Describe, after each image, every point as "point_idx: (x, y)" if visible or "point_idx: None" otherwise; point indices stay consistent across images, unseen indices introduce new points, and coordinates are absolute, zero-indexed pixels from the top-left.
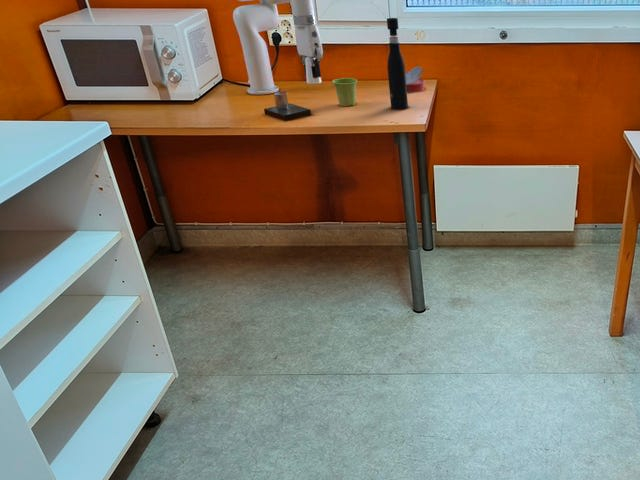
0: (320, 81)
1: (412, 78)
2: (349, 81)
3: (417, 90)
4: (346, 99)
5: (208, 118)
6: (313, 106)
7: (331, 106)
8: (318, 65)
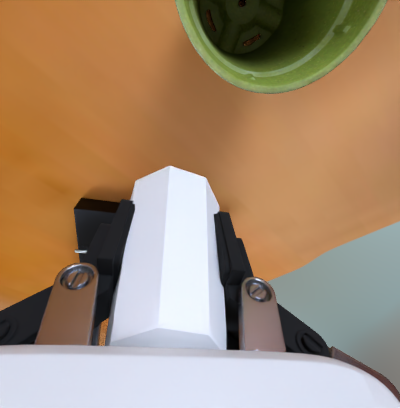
0: (213, 195)
1: None
2: None
3: None
4: (278, 47)
5: None
6: (120, 128)
7: (189, 84)
8: (258, 289)
